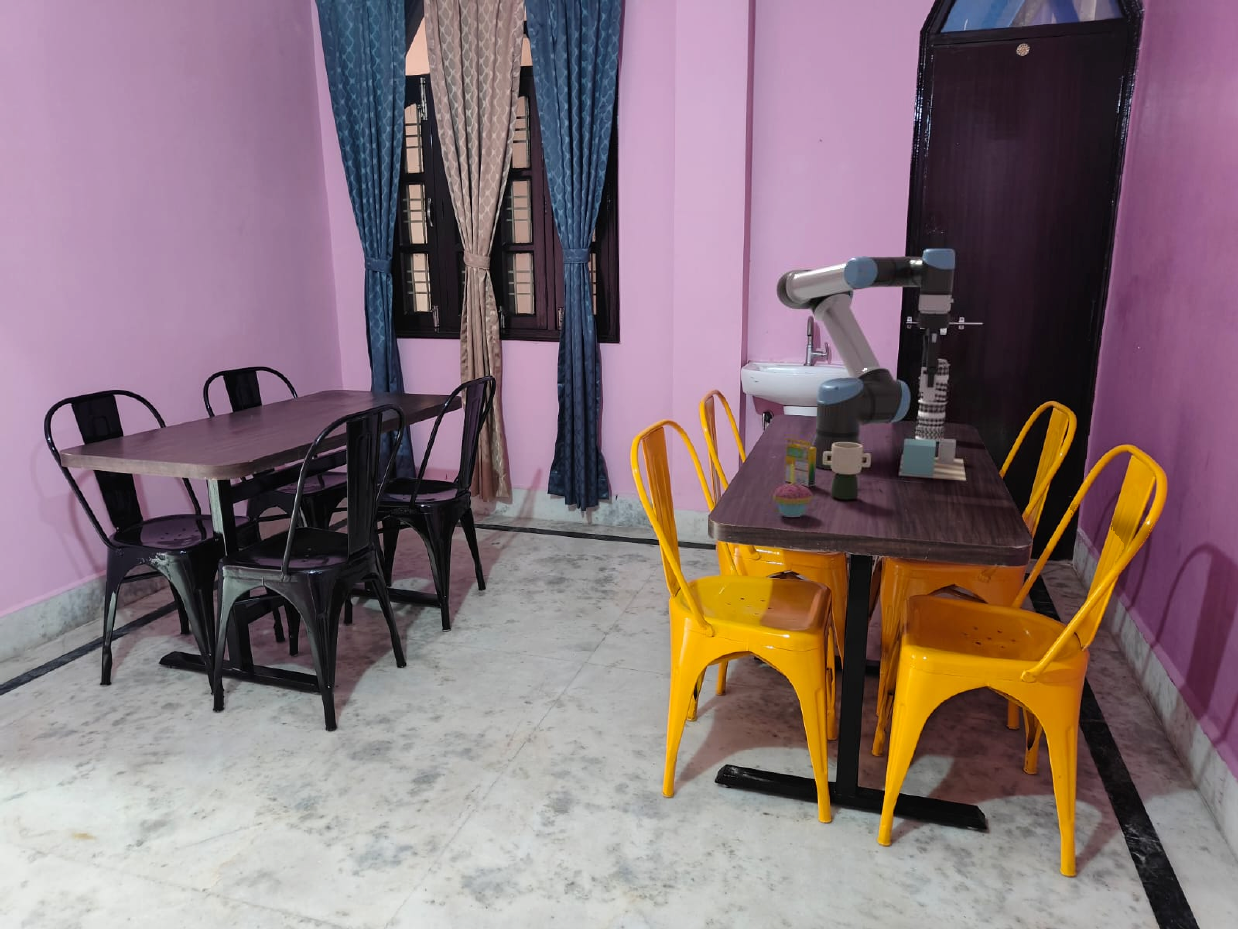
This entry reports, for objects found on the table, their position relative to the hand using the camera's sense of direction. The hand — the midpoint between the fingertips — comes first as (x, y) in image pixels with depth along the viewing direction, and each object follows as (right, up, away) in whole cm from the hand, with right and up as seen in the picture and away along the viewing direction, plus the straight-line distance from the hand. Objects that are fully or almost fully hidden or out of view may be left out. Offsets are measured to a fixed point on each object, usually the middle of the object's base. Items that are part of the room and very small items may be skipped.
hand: (926, 396), depth 217 cm
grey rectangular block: (+10, -17, +13) cm, 23 cm away
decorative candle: (+19, -10, +49) cm, 53 cm away
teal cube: (-2, -19, +2) cm, 20 cm away
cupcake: (-41, -29, -29) cm, 58 cm away
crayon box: (-33, -23, -3) cm, 40 cm away
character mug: (-26, -26, -16) cm, 40 cm away
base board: (+4, -20, +8) cm, 22 cm away
